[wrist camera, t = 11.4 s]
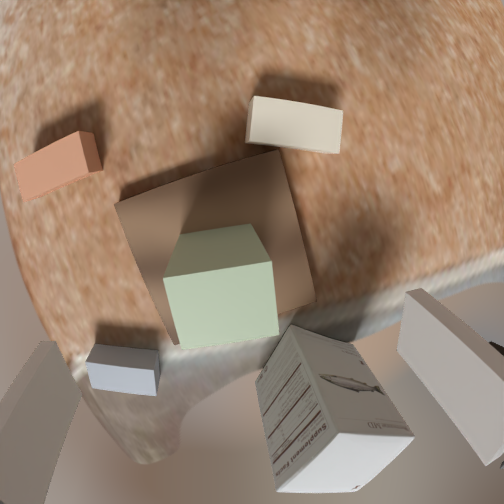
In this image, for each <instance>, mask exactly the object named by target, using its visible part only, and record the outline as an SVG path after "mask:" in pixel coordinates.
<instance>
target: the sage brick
mask: <svg viewBox="0 0 504 504" xmlns="http://www.w3.org/2000/svg"><path fill="white" fill-rule="evenodd" d="M163 281H164V285H165V289H166V293H167V297H168V301H169V305H170V309H171V313H172V316H173V320H174V324H175V327H176V331H177V335H178V338H179V342H180V345H181V348H182V350H185V349H193V348H200V347H208V346H215V345H222V344H228V343H235V342H241V341H247V340H253V339H259V338H265V337H270V336H276V335H279V326H278V316H277V307H276V297H275V287H274V278H273V268H272V261H271V259H270V257H269V255H268V253H267V252H266V250H265V248H264V246H263V244H262V243H261V241H260V239H259V237H258V235H257V234H256V232H255V230H254V228H253V226H252V225H251V223H250V224H244V225H237V226H230V227H224V228H217V229H211V230H205V231H198V232H192V233H186V234H180V235H179V238H178V240H177V243H176V245H175V248H174V250H173V253H172V255H171V258H170V261H169V263H168V266H167V268H166V271H165V274H164V276H163Z"/></svg>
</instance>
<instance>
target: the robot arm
mask: <svg viewBox="0 0 504 504" xmlns="http://www.w3.org/2000/svg"><path fill="white" fill-rule="evenodd" d="M397 351H398V353H399V354H400V355H401V356H402V357H403V359H404V360H405V361H406V362H407V364H408V365H409V366H410V367H411V369H412V370H413V371H414V372H415V374H416V375H417V376H418V377H419V378H420V380H421V381H422V382H423V383H424V385H425V386H426V387H427V389H428V390H429V391H430V392H431V394H432V395H433V396H434V398H435V399H436V400H437V401H438V403H439V404H440V405H441V406H442V408H443V409H444V410H445V412H446V413H447V414H448V416H449V417H450V418H451V420H452V421H453V422H454V424H455V425H456V426H457V428H458V429H459V430H460V432H461V433H462V434H463V436H464V437H465V438H466V440H467V441H468V442H469V444H470V445H471V446H472V448H473V449H474V451H475V452H476V453H477V455H478V456H479V458H480V459H481V460H482V462H483V463H484V465H485V466H487V465H488V464H490V463H491V462H493V461H494V460H495V459H497V458H498V457H499V456H501V455H502V454H503V453H504V347H502V346H500V345H498V344H496V343H494V342H489V343H488V342H487V341H486V340H484V339H483V338H482V337H481V336H480V335H479V334H477V333H476V332H475V331H474V330H473V329H471V328H470V327H469V326H468V325H467V324H465V323H464V322H463V321H462V320H461V319H459V318H458V317H457V316H456V315H455V314H453V313H452V312H451V311H450V310H448V309H447V308H446V307H445V306H443V305H442V304H441V303H440V302H438V301H437V300H436V299H435V298H433V297H432V296H431V295H430V294H428V293H427V292H426V291H424V290H423V289H422V288H419V289H415V290H411V291H407V292H405V300H404V308H403V315H402V322H401V328H400V335H399V341H398V346H397ZM81 397H82V393H81V391H80V389H79V387H78V385H77V384H76V382H75V380H74V378H73V376H72V374H71V372H70V370H69V368H68V366H67V364H66V362H65V360H64V358H63V356H62V354H61V352H60V350H59V347H58V345H57V343H56V341H41V342H40V343H39V345H38V346H37V348H36V349H35V350H34V352H33V353H32V355H31V356H30V357H29V359H28V360H27V362H26V363H25V365H24V366H23V368H22V369H21V371H20V372H19V374H18V375H17V377H16V378H15V380H14V381H13V383H12V384H11V386H10V387H9V389H8V391H7V392H6V394H5V395H4V397H3V399H2V400H1V402H0V504H44V502H45V499H46V495H47V492H48V489H49V485H50V482H51V479H52V476H53V473H54V469H55V466H56V464H57V460H58V458H59V455H60V452H61V449H62V446H63V443H64V441H65V438H66V435H67V433H68V430H69V427H70V425H71V422H72V419H73V417H74V414H75V412H76V409H77V407H78V404H79V402H80V399H81ZM503 468H504V461H503V462H502V464H501V467H500V469H503Z"/></svg>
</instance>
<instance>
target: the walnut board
mask: <svg viewBox="0 0 504 504" xmlns="http://www.w3.org/2000/svg"><path fill="white" fill-rule="evenodd" d="M114 206H115V209H116V211H117V214H118V217H119V220H120V222H121V225H122V228H123V230H124V233H125V236H126V238H127V241H128V243H129V246H130V248H131V251H132V253H133V256H134V258H135V261H136V263H137V265H138V268H139V270H140V272H141V275H142V277H143V279H144V282H145V284H146V286H147V289H148V291H149V293H150V295H151V298H152V300H153V302H154V304H155V306H156V308H157V311H158V313H159V315H160V317H161V319H162V321H163V323H164V325H165V327H166V329H167V331H168V334H169V336H170V338H171V340H172V342H173V344H174V345H177V344H180V342H179V338H178V335H177V331H176V327H175V324H174V320H173V316H172V313H171V309H170V305H169V301H168V297H167V293H166V289H165V285H164V281H163V276H164V274H165V271H166V268H167V266H168V263H169V261H170V258H171V255H172V253H173V250H174V248H175V245H176V243H177V240H178V238H179V235H180V234H186V233H192V232H198V231H205V230H211V229H217V228H224V227H230V226H237V225H244V224H250V223H251V225H252V226H253V228H254V230H255V232H256V234H257V235H258V237H259V239H260V241H261V243H262V244H263V246H264V248H265V250H266V252H267V253H268V255H269V257H270V259H271V261H272V268H273V278H274V287H275V297H276V307H277V315H278V314H281V313H284V312H287V311H290V310H293V309H296V308H299V307H302V306H305V305H307V304H310V303H313V302H316V301H317V299H316V295H315V290H314V286H313V281H312V277H311V273H310V268H309V264H308V260H307V256H306V251H305V247H304V243H303V239H302V235H301V231H300V227H299V223H298V219H297V215H296V211H295V208H294V204H293V200H292V196H291V192H290V189H289V185H288V181H287V178H286V174H285V170H284V167H283V163H282V160H281V156H280V153H279V149H278V150H273V151H269V152H265V153H262V154H258V155H255V156H251V157H248V158H244V159H241V160H238V161H234V162H231V163H228V164H224V165H221V166H218V167H215V168H212V169H209V170H205V171H202V172H199V173H196V174H193V175H190V176H187V177H184V178H182V179H179V180H176V181H173V182H170V183H167V184H164V185H162V186H159V187H156V188H153V189H151V190H148V191H145V192H143V193H140V194H137V195H135V196H132V197H130V198H127V199H125V200H122V201H119V202H117V203H116V204H114Z"/></svg>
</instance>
